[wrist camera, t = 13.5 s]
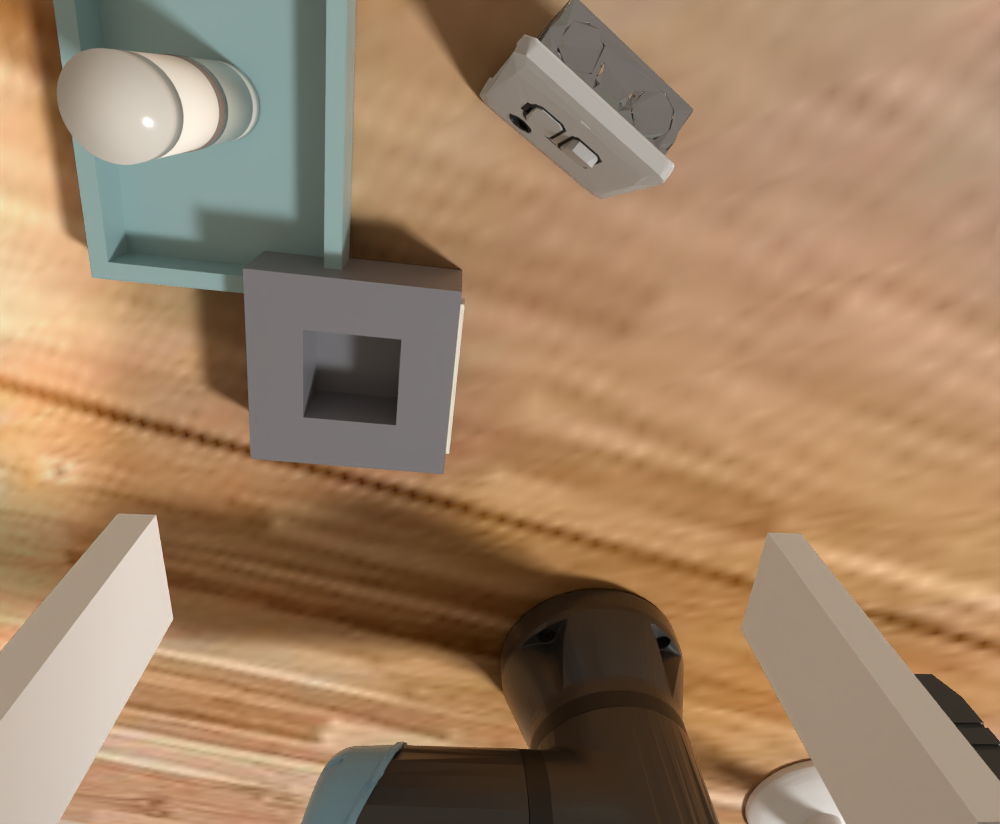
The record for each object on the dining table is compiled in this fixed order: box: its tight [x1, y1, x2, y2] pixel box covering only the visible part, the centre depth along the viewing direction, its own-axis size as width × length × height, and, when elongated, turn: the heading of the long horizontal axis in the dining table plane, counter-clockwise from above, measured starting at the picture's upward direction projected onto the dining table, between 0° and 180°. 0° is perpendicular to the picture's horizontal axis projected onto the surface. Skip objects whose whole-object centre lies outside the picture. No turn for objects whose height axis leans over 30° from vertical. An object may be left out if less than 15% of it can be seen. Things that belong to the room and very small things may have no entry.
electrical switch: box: [479, 0, 693, 199], centre depth 35 cm, size 9×5×9 cm, turn 52°
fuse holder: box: [243, 251, 465, 474], centre depth 42 cm, size 12×12×5 cm
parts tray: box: [53, 0, 356, 293], centre depth 36 cm, size 20×14×3 cm
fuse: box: [57, 48, 260, 165], centre depth 31 cm, size 4×4×13 cm
